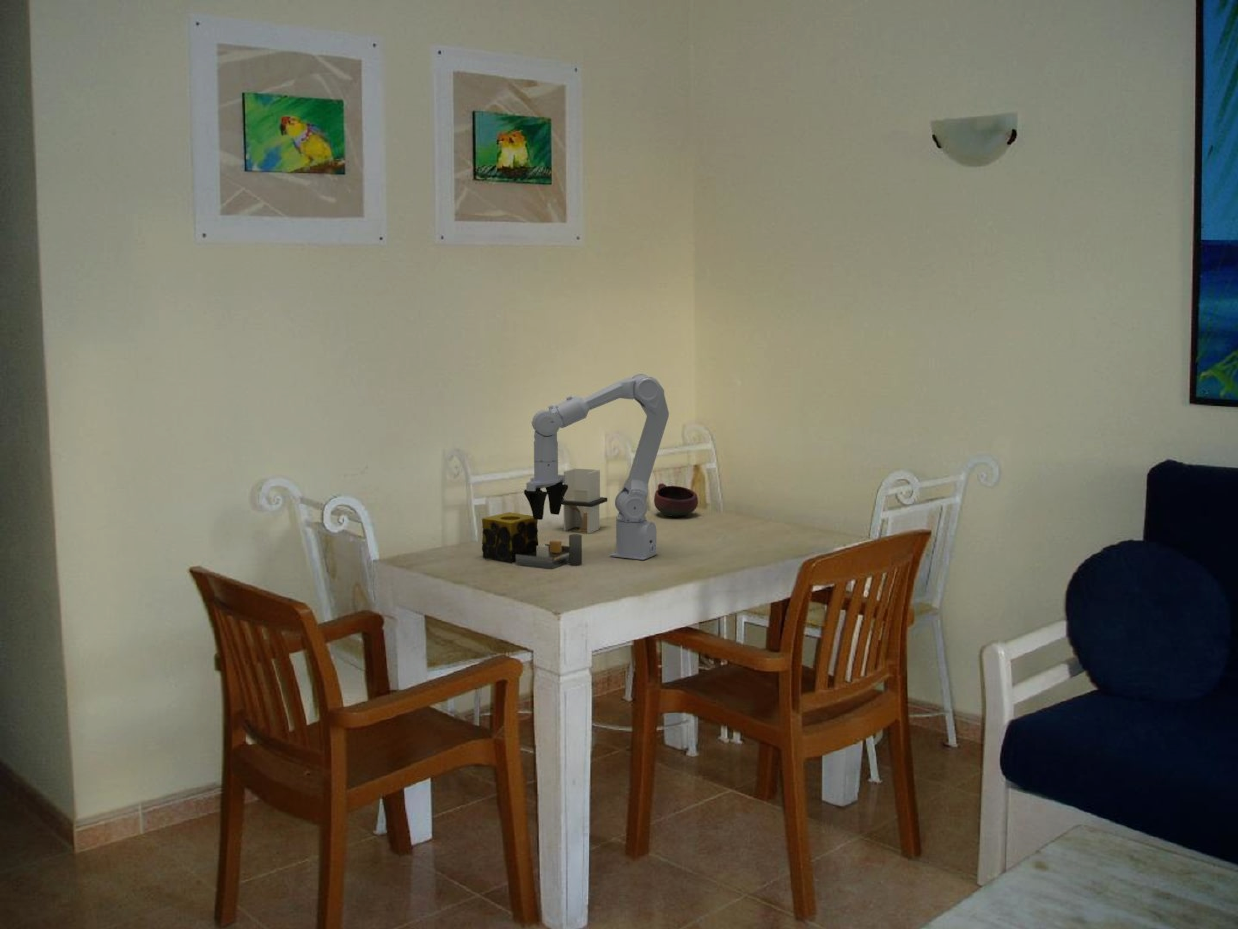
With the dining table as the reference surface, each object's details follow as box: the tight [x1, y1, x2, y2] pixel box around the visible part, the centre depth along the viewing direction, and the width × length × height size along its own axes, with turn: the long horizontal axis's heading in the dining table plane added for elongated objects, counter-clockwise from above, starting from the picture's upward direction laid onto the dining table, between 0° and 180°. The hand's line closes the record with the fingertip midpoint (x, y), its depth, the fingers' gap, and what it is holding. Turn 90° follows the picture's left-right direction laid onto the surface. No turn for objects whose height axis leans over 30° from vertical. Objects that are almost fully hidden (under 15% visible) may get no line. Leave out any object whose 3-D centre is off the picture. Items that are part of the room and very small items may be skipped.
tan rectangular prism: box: [549, 540, 563, 553], centre depth 309 cm, size 2×2×2 cm
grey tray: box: [515, 543, 569, 570], centre depth 307 cm, size 10×14×2 cm
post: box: [568, 533, 583, 567], centre depth 303 cm, size 3×3×7 cm
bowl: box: [653, 483, 699, 517], centre depth 367 cm, size 16×13×8 cm
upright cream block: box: [536, 544, 549, 557], centre depth 304 cm, size 2×2×2 cm
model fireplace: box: [561, 467, 608, 534], centre depth 345 cm, size 25×24×16 cm
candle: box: [481, 511, 539, 564], centre depth 311 cm, size 10×10×10 cm
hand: (546, 516), depth 308 cm, fingers open, 7 cm apart
